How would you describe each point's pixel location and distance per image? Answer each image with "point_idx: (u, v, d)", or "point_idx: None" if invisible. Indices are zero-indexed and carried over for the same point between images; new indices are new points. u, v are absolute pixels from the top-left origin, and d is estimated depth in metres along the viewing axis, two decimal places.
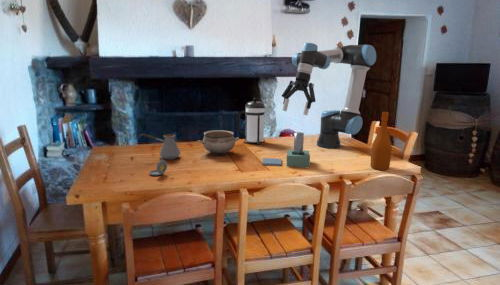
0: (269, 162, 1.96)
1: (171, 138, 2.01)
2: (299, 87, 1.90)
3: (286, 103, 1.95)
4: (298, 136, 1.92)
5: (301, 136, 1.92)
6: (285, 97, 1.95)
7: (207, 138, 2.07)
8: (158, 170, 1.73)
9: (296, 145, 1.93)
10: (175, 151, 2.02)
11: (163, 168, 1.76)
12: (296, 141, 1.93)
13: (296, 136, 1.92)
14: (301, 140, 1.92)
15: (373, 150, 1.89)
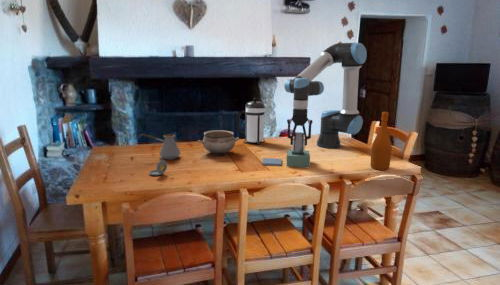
0: (269, 162, 1.96)
1: (171, 138, 2.01)
2: (299, 123, 1.91)
3: None
4: (298, 136, 1.92)
5: (301, 136, 1.92)
6: (292, 138, 1.93)
7: (207, 138, 2.07)
8: (158, 170, 1.73)
9: (296, 145, 1.93)
10: (175, 151, 2.02)
11: (163, 168, 1.76)
12: (296, 141, 1.93)
13: (296, 136, 1.92)
14: (301, 140, 1.92)
15: (373, 150, 1.89)
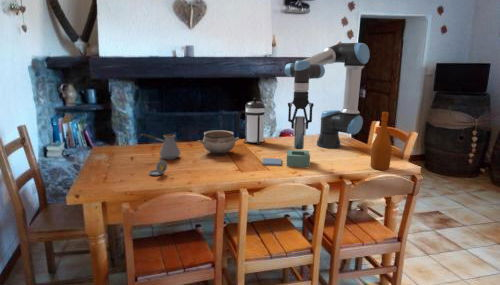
0: (269, 162, 1.96)
1: (171, 138, 2.01)
2: (300, 106, 1.89)
3: None
4: (299, 120, 1.90)
5: (302, 120, 1.90)
6: (293, 121, 1.91)
7: (207, 138, 2.07)
8: (158, 170, 1.73)
9: (297, 129, 1.91)
10: (175, 151, 2.02)
11: (163, 168, 1.76)
12: (297, 125, 1.91)
13: (297, 120, 1.90)
14: (302, 123, 1.90)
15: (373, 150, 1.89)
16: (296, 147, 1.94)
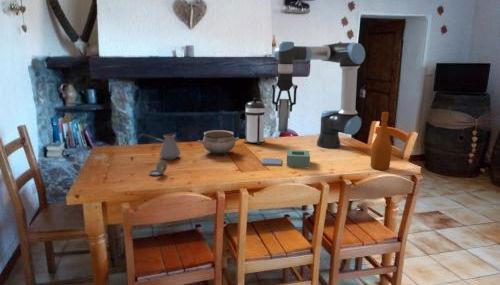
0: (269, 162, 1.96)
1: (171, 138, 2.01)
2: (284, 88, 1.88)
3: (278, 109, 1.91)
4: (283, 102, 1.88)
5: (286, 102, 1.88)
6: (277, 103, 1.90)
7: (207, 138, 2.07)
8: (158, 170, 1.73)
9: (281, 111, 1.89)
10: (175, 151, 2.02)
11: (163, 168, 1.76)
12: (281, 107, 1.89)
13: (281, 102, 1.88)
14: (286, 106, 1.88)
15: (373, 150, 1.89)
16: (280, 130, 1.92)
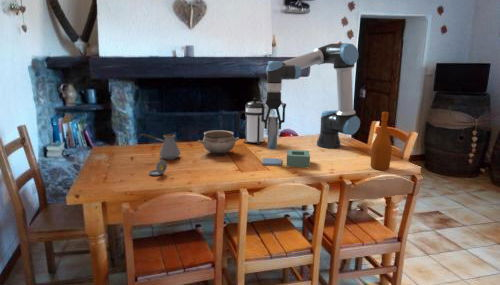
0: (269, 162, 1.96)
1: (171, 138, 2.01)
2: (273, 106, 1.91)
3: None
4: (272, 120, 1.91)
5: (275, 120, 1.91)
6: (266, 121, 1.93)
7: (207, 138, 2.07)
8: (158, 170, 1.73)
9: (270, 129, 1.92)
10: (175, 151, 2.02)
11: (163, 168, 1.76)
12: (270, 125, 1.92)
13: (270, 120, 1.91)
14: (274, 124, 1.91)
15: (373, 150, 1.89)
16: (269, 147, 1.95)
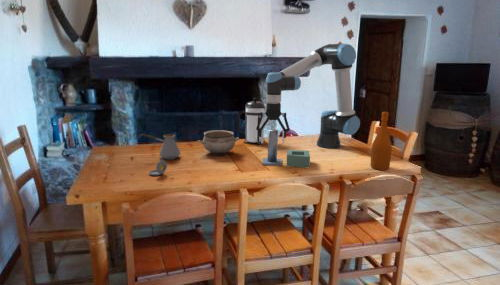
0: (269, 162, 1.96)
1: (171, 138, 2.01)
2: (273, 117, 1.92)
3: (262, 135, 1.96)
4: (272, 133, 1.93)
5: (275, 133, 1.93)
6: (261, 130, 1.94)
7: (207, 138, 2.07)
8: (158, 170, 1.73)
9: (270, 142, 1.94)
10: (175, 151, 2.02)
11: (163, 168, 1.76)
12: (270, 138, 1.94)
13: (270, 133, 1.93)
14: (275, 137, 1.93)
15: (373, 150, 1.89)
16: (269, 160, 1.97)
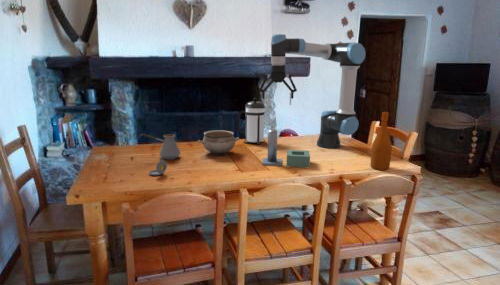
0: (269, 162, 1.96)
1: (171, 138, 2.01)
2: (278, 79, 1.94)
3: (265, 97, 1.98)
4: (271, 133, 1.93)
5: (274, 133, 1.93)
6: (264, 91, 1.96)
7: (207, 138, 2.07)
8: (158, 170, 1.73)
9: (270, 142, 1.94)
10: (175, 151, 2.02)
11: (163, 168, 1.76)
12: (269, 138, 1.94)
13: (269, 133, 1.93)
14: (274, 137, 1.93)
15: (373, 150, 1.89)
16: (269, 160, 1.97)
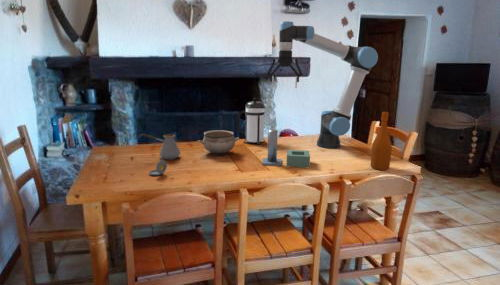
0: (269, 162, 1.96)
1: (171, 138, 2.01)
2: (285, 64, 2.08)
3: (273, 80, 2.12)
4: (271, 133, 1.92)
5: (274, 133, 1.93)
6: None
7: (207, 138, 2.07)
8: (158, 170, 1.73)
9: (270, 142, 1.94)
10: (175, 151, 2.02)
11: (163, 168, 1.76)
12: (270, 138, 1.94)
13: (270, 133, 1.93)
14: (274, 137, 1.93)
15: (373, 150, 1.89)
16: (269, 160, 1.97)
